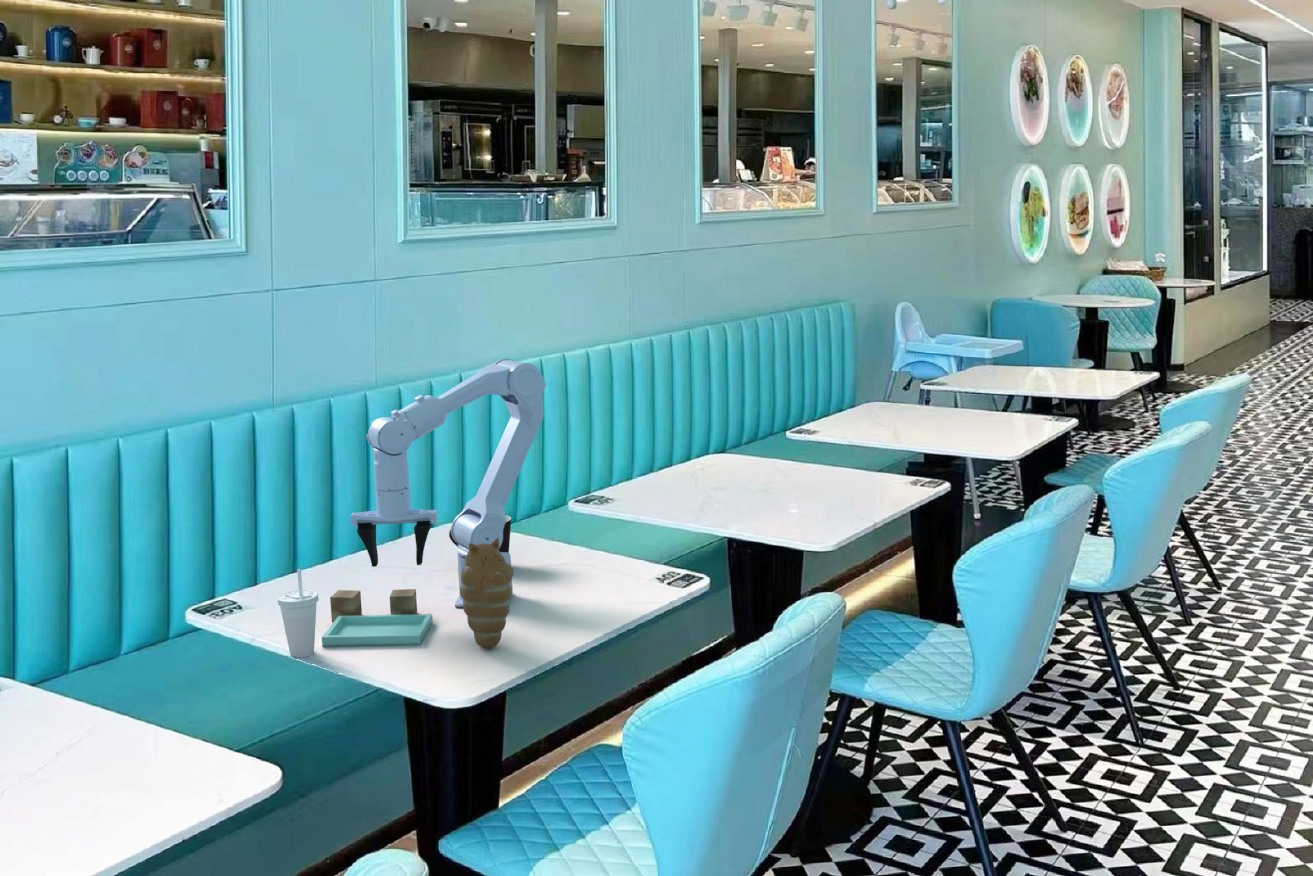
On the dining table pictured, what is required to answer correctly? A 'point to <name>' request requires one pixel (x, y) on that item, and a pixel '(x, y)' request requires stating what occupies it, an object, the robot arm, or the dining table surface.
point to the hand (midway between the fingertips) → (397, 564)
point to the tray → (377, 630)
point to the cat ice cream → (486, 592)
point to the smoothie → (299, 619)
